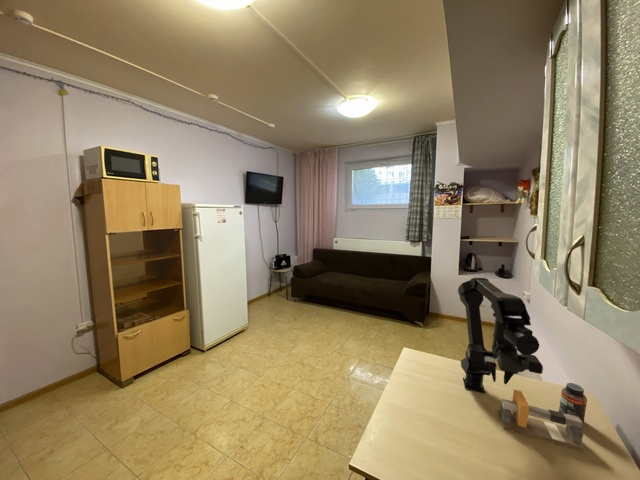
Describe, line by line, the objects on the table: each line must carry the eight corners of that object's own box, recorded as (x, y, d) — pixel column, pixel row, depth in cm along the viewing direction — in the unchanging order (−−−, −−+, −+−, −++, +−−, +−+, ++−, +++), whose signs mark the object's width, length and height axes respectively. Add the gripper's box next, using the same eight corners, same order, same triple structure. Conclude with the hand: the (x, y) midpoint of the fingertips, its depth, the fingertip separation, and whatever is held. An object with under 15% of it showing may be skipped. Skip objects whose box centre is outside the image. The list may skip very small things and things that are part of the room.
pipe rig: (498, 412, 87) (500, 393, 86) (571, 431, 80) (574, 410, 79) (503, 429, 80) (506, 408, 79) (583, 451, 73) (587, 429, 72)
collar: (511, 408, 85) (513, 389, 84) (518, 410, 84) (521, 391, 83) (518, 425, 79) (521, 404, 78) (526, 427, 78) (529, 406, 77)
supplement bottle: (578, 414, 86) (583, 383, 85) (587, 428, 81) (593, 395, 79) (555, 408, 89) (559, 378, 87) (562, 421, 83) (567, 389, 82)
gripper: (474, 342, 76) (469, 390, 78) (554, 357, 69) (547, 409, 71) (468, 326, 86) (464, 369, 89) (538, 337, 79) (532, 384, 82)
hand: (499, 382), depth 82 cm, fingers open, 3 cm apart
